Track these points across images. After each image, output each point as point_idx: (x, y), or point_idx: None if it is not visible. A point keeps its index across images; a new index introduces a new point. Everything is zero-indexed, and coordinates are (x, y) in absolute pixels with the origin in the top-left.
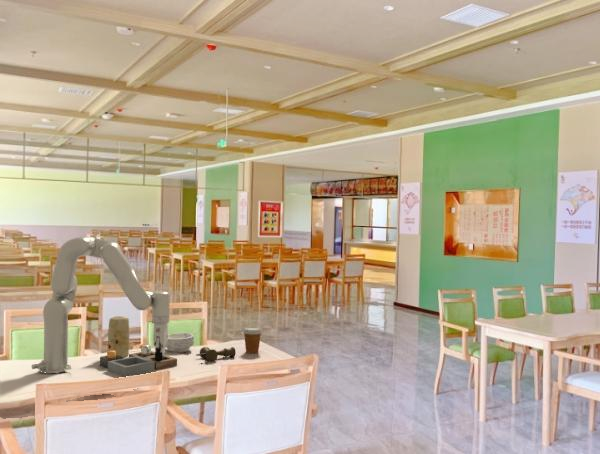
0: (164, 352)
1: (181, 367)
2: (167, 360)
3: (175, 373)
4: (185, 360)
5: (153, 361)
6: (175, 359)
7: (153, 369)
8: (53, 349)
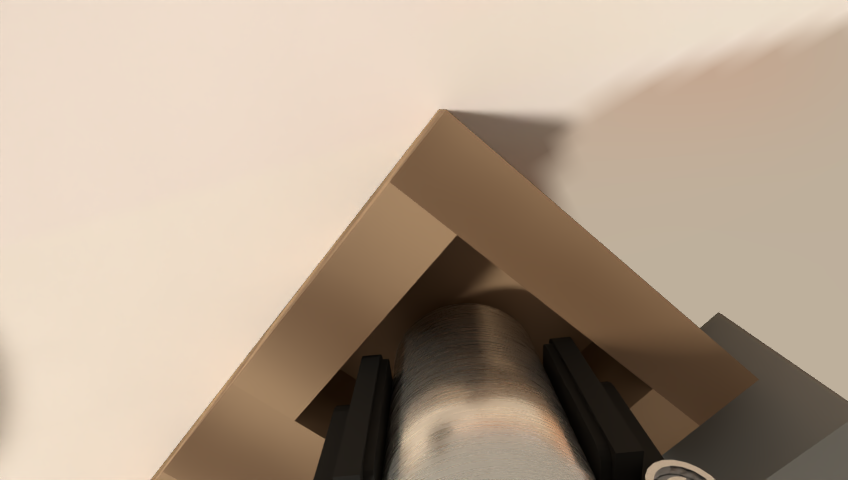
0: (519, 417)
1: (419, 41)
2: (598, 255)
3: (758, 40)
4: (7, 94)
5: (845, 428)
6: (475, 136)
7: (764, 345)
8: None
